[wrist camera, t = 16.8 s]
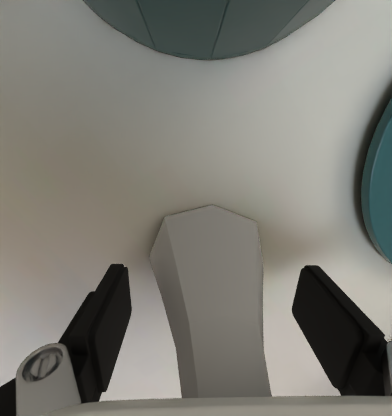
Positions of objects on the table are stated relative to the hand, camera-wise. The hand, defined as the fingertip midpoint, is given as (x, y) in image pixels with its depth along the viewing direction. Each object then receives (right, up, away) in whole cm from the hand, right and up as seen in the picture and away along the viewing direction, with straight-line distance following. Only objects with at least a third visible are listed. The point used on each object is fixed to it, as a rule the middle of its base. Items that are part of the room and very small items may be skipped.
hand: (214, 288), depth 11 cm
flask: (0, +1, +3) cm, 3 cm away
